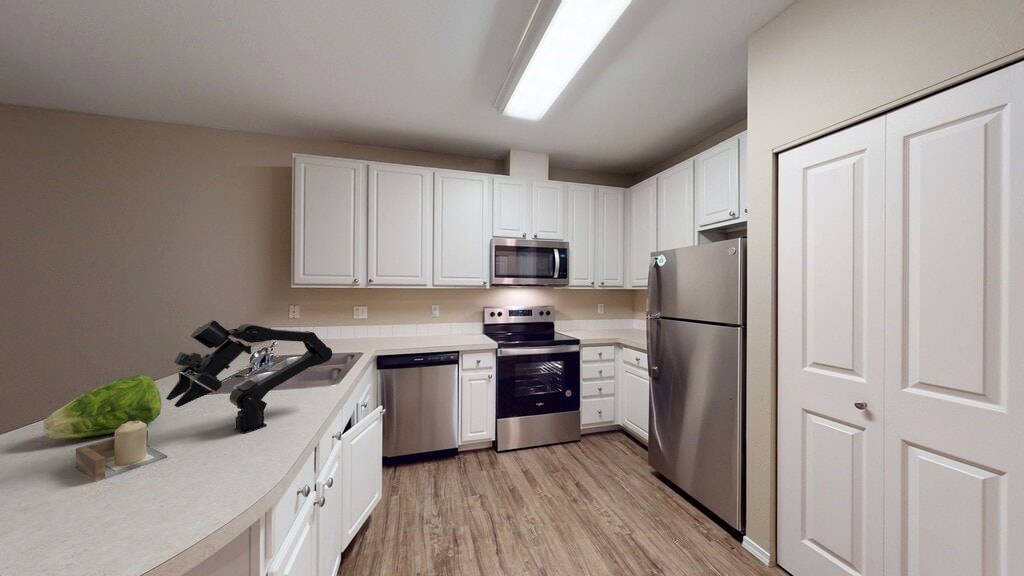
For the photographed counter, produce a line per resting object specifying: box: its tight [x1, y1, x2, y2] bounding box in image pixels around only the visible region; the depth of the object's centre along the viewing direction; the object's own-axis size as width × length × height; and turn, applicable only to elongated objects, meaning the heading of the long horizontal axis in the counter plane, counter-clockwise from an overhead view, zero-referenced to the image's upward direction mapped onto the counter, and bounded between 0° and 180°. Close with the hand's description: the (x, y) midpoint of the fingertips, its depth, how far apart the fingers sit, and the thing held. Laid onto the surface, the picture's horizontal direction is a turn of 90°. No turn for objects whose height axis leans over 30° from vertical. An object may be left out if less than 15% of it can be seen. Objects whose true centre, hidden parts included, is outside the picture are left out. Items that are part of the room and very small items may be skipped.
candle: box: [114, 420, 148, 465], centre depth 87 cm, size 6×6×10 cm
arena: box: [75, 429, 168, 483], centre depth 87 cm, size 12×14×5 cm
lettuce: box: [42, 374, 162, 440], centre depth 104 cm, size 17×23×16 cm
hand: (171, 402), depth 93 cm, fingers open, 9 cm apart
